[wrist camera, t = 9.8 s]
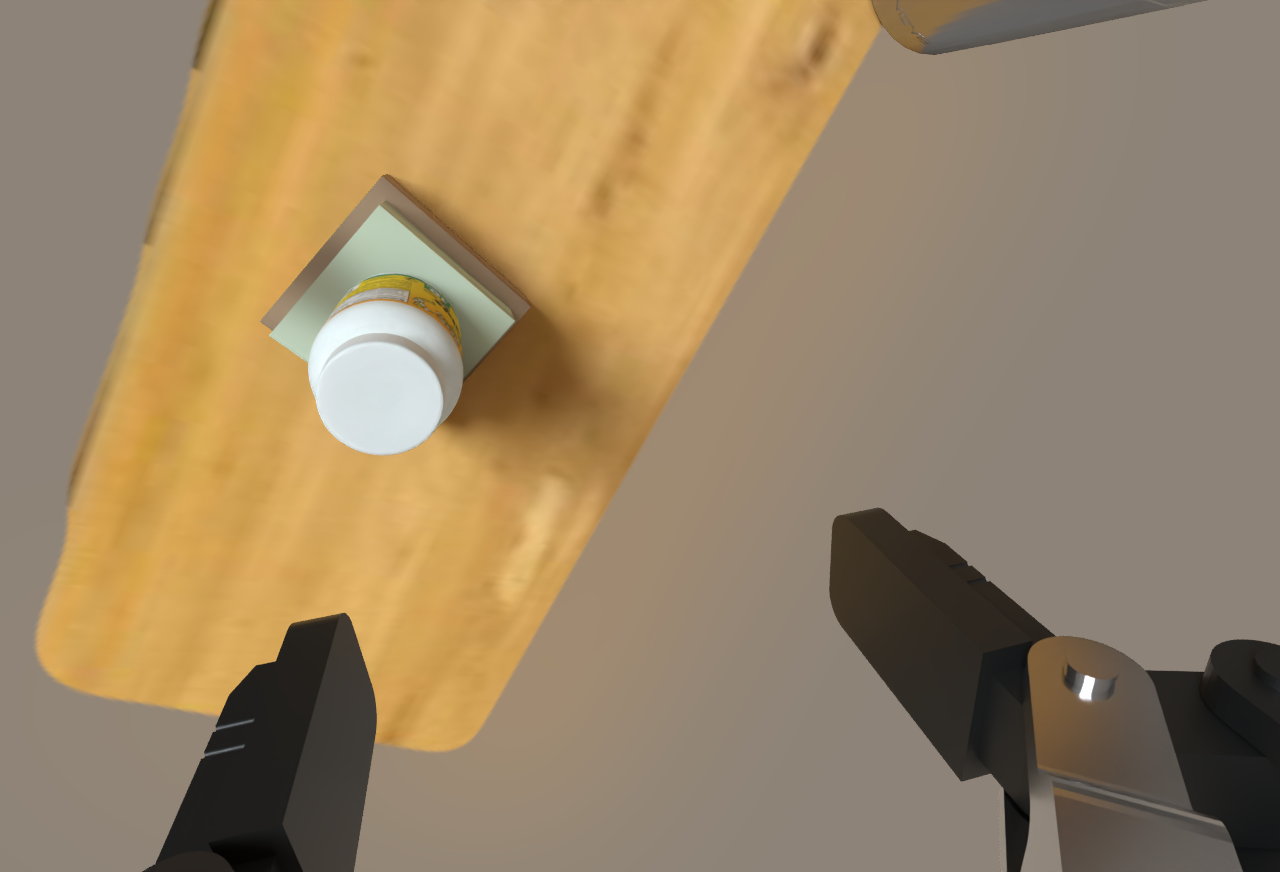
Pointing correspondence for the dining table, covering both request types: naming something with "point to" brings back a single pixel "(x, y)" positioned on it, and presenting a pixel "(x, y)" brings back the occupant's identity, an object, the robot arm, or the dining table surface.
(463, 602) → the dining table surface
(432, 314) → the supplement bottle
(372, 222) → the stepped square pedestal
